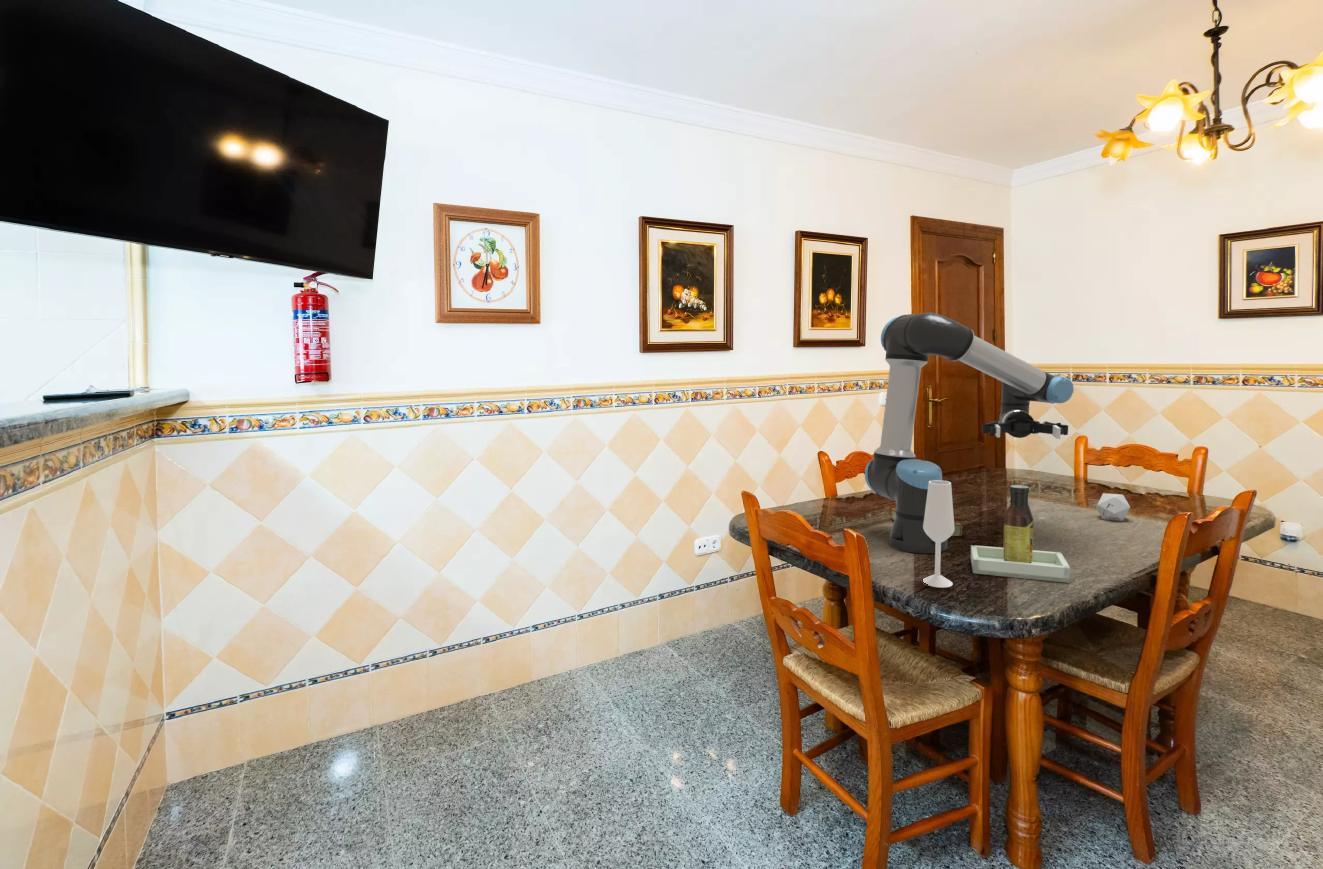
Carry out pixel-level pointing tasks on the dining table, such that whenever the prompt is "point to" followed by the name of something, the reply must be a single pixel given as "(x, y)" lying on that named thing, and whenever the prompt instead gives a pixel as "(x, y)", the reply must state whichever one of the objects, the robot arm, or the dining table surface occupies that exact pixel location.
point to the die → (1113, 507)
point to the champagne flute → (938, 524)
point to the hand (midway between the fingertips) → (1028, 432)
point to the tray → (1020, 565)
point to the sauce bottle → (1018, 527)
